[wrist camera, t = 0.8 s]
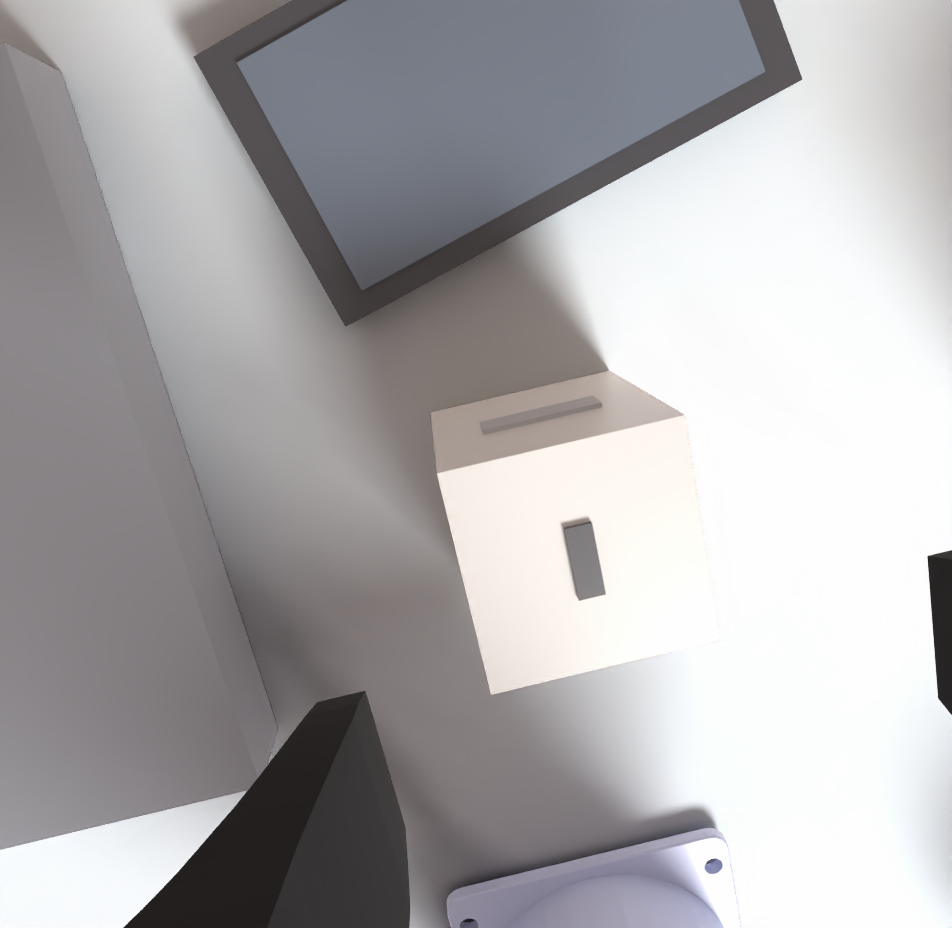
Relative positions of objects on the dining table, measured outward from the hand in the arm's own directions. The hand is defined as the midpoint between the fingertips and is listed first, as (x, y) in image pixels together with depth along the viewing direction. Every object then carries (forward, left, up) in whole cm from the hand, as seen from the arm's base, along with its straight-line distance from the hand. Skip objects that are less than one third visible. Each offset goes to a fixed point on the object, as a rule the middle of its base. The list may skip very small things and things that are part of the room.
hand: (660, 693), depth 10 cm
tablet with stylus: (+10, -2, -10) cm, 14 cm away
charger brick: (0, 0, -10) cm, 10 cm away
